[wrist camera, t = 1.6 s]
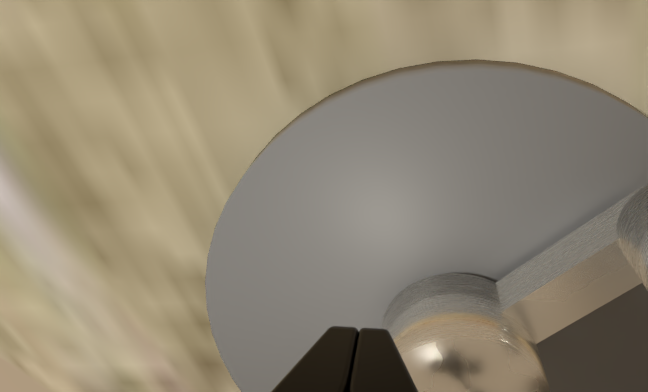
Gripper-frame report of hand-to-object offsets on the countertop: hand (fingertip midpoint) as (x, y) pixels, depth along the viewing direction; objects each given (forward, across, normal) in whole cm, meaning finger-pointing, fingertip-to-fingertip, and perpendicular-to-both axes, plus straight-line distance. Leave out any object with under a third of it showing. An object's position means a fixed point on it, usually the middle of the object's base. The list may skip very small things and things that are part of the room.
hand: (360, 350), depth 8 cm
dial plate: (+11, -2, +7) cm, 13 cm away
